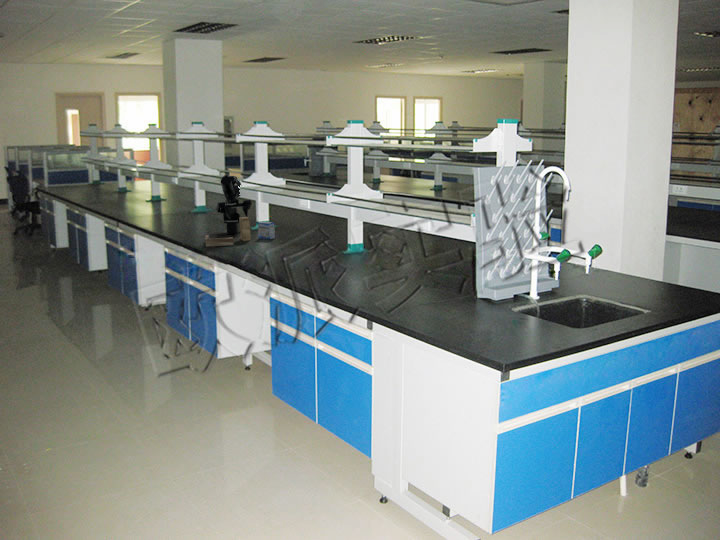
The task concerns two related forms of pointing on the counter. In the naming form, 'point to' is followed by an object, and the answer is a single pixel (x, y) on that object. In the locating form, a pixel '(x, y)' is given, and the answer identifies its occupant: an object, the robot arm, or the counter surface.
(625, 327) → the counter surface
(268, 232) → the medicine box
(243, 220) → the oak plank block
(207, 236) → the lock board
